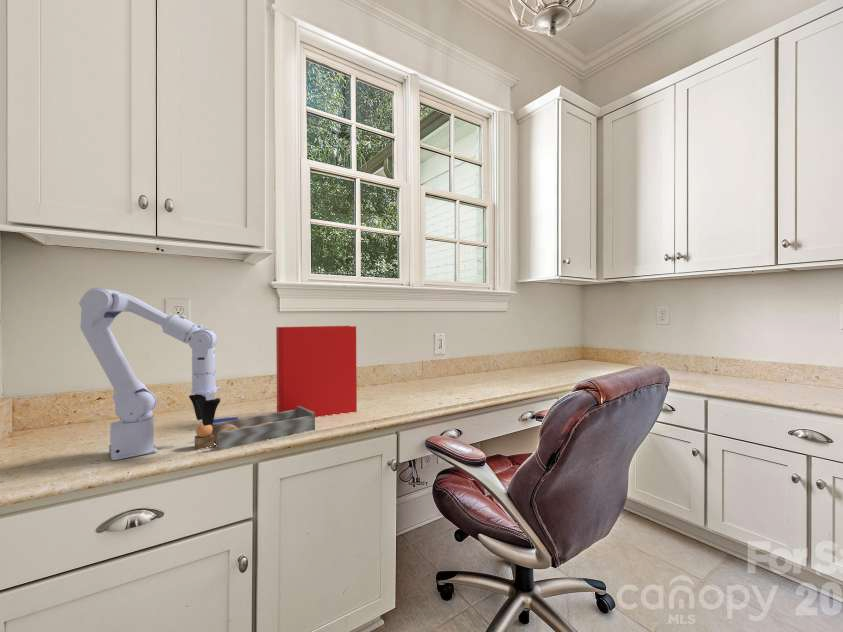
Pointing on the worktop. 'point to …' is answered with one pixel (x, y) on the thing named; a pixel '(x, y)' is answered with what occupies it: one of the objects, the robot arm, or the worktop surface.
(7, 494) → the worktop surface
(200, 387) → the robot arm
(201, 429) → the ball
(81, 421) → the worktop surface
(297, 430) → the lane
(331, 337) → the book
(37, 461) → the worktop surface
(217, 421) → the hard drive
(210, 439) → the brown wooden crate
